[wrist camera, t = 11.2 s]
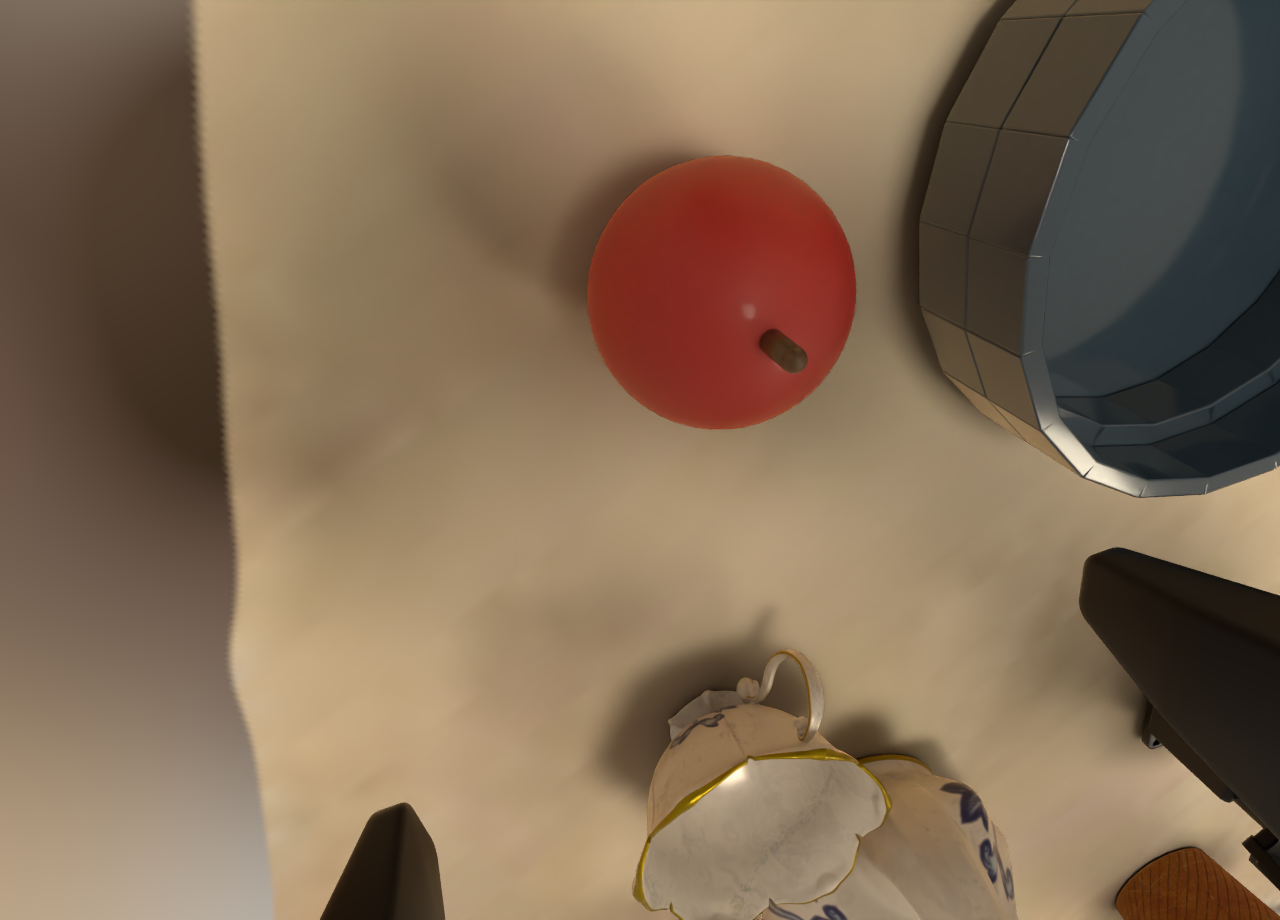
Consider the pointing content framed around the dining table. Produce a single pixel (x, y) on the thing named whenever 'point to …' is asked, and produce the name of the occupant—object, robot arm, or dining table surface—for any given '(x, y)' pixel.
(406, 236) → the dining table surface
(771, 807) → the chinaware
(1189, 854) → the disposable coffee cup
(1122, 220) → the bowl
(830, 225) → the apple
